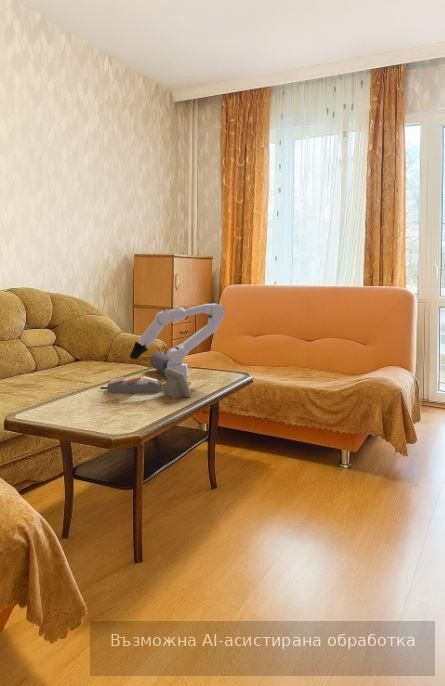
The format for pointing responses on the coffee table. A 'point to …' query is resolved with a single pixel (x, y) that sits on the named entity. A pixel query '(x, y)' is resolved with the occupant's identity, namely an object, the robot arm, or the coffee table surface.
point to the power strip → (134, 387)
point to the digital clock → (176, 384)
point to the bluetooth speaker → (159, 362)
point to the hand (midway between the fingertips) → (132, 358)
